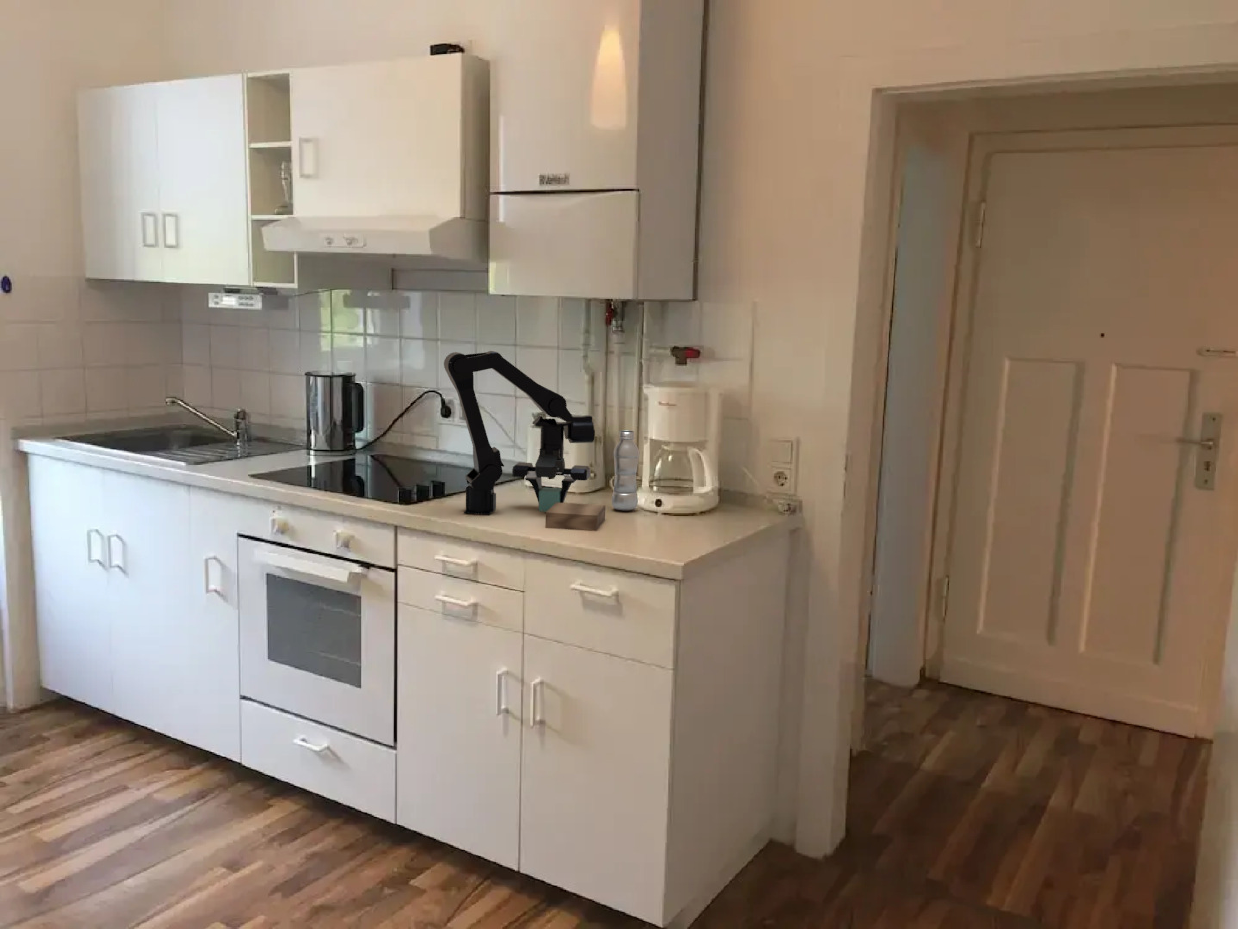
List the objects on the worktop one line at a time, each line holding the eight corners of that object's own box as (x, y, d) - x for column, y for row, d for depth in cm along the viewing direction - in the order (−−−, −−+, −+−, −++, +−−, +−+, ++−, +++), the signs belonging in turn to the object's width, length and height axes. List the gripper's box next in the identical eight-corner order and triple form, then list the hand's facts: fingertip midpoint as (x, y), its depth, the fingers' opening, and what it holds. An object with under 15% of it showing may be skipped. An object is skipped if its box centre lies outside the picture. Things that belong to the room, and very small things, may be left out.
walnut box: (545, 529, 241) (545, 512, 241) (555, 518, 253) (556, 502, 252) (596, 532, 240) (597, 515, 239) (604, 521, 251) (605, 505, 251)
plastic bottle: (622, 506, 267) (624, 428, 264) (643, 510, 263) (645, 431, 260) (605, 510, 262) (608, 431, 259) (626, 514, 258) (629, 434, 255)
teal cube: (538, 510, 259) (539, 491, 258) (543, 506, 264) (543, 487, 263) (558, 512, 258) (558, 492, 258) (562, 508, 263) (562, 488, 262)
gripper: (507, 446, 252) (506, 509, 254) (583, 450, 249) (581, 514, 252) (518, 439, 263) (517, 500, 265) (591, 443, 260) (589, 505, 263)
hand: (550, 505), depth 261 cm, fingers closed on teal cube, 5 cm apart
